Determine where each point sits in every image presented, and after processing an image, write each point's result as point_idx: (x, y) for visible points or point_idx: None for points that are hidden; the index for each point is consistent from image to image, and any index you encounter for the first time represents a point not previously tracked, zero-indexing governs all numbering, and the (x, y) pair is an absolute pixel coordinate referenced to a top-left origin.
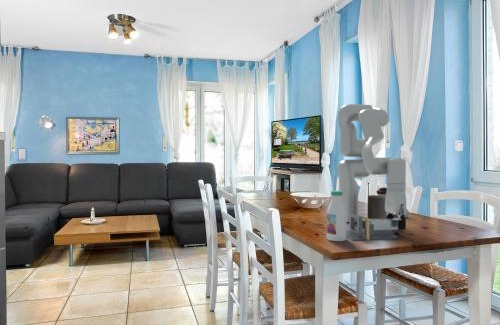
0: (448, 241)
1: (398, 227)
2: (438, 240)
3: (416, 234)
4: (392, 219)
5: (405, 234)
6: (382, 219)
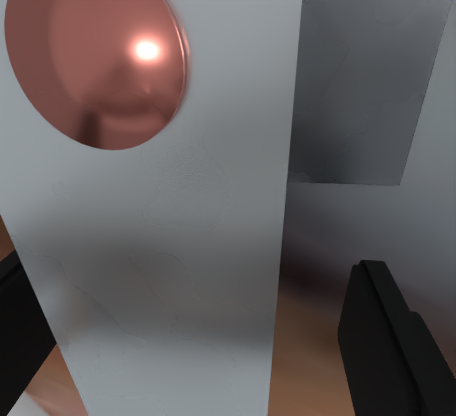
0: (42, 401)
1: (9, 255)
2: (58, 380)
3: None
4: (121, 345)
5: None
6: (16, 65)
